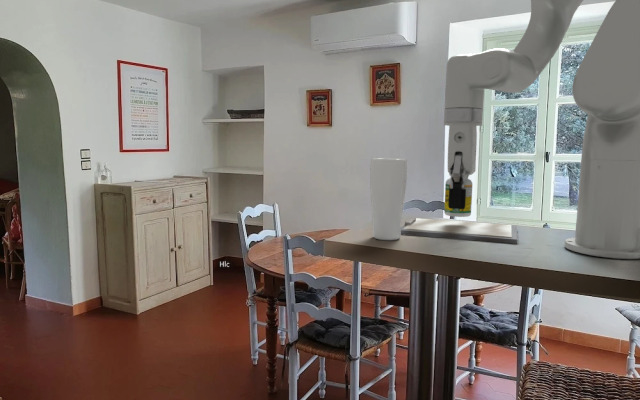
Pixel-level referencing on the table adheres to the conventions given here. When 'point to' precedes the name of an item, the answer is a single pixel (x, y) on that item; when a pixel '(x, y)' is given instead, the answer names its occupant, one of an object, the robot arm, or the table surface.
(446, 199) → the supplement bottle
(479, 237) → the notepad
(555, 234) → the table surface
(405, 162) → the drinking glass
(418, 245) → the table surface
